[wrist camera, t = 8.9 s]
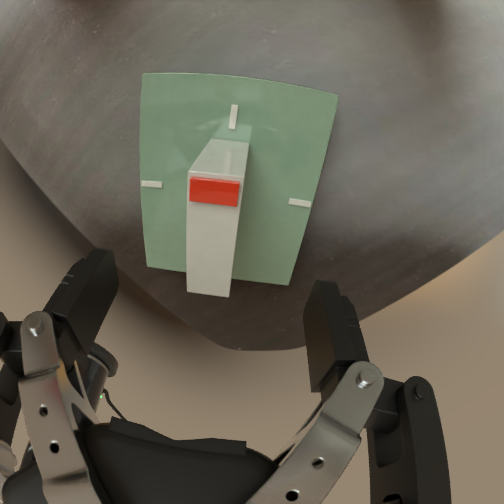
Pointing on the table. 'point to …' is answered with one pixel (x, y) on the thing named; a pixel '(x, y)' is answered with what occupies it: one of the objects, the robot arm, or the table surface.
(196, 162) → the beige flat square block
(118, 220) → the table surface
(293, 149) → the rotary switch
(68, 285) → the robot arm
